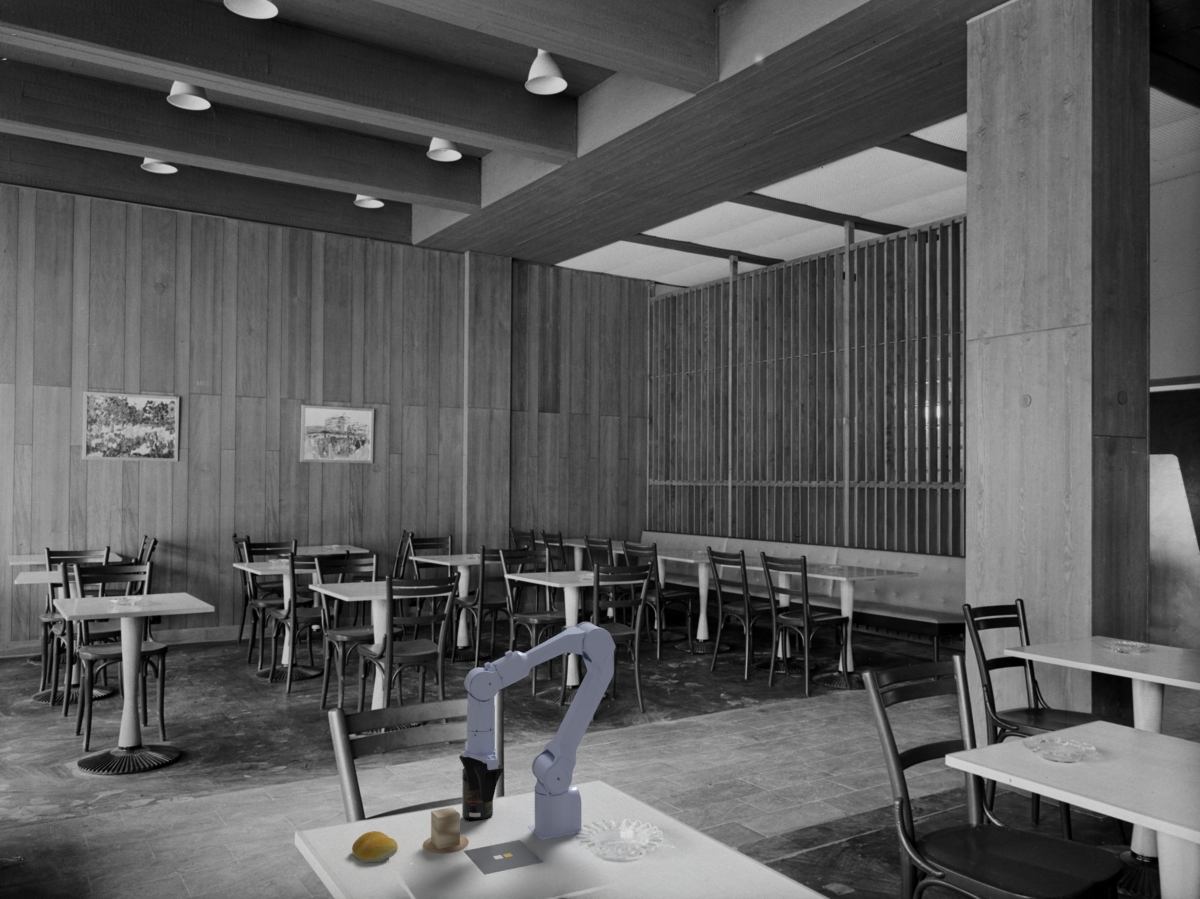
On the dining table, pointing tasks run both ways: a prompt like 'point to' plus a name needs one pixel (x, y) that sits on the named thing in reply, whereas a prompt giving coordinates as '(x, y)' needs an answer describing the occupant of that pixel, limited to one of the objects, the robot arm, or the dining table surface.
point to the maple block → (445, 827)
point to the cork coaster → (432, 848)
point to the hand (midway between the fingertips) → (480, 795)
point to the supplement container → (474, 803)
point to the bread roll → (374, 847)
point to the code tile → (503, 856)
